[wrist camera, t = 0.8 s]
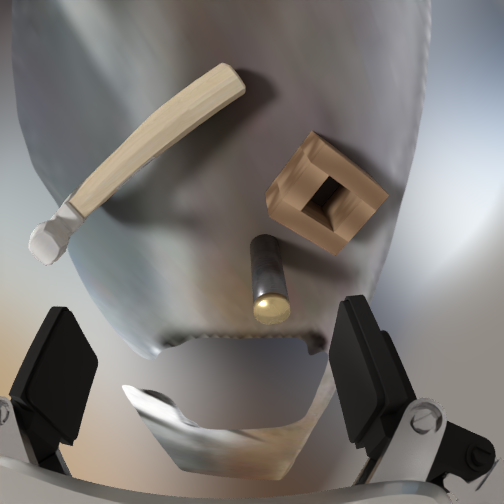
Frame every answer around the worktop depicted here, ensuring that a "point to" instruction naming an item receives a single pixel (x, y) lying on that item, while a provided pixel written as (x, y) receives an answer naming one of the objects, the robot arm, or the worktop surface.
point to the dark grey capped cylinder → (268, 281)
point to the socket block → (338, 205)
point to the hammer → (137, 156)
